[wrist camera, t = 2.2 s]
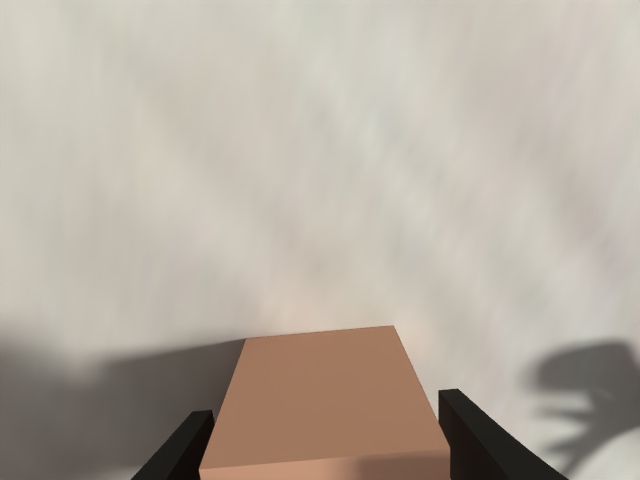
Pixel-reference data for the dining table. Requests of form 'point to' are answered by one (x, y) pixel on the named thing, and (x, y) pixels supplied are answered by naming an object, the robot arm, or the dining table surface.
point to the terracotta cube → (326, 412)
